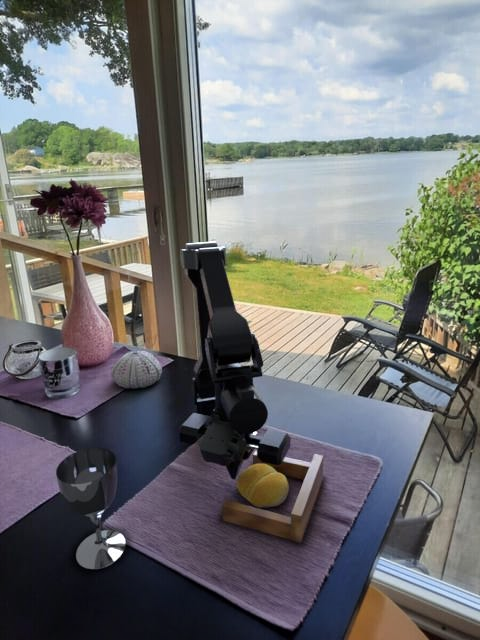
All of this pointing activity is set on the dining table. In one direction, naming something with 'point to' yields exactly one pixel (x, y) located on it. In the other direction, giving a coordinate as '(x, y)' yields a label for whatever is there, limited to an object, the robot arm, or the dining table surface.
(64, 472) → the wine glass
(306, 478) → the open wooden frame
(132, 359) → the sea urchin shell
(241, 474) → the bread roll
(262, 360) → the robot arm
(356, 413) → the dining table surface
